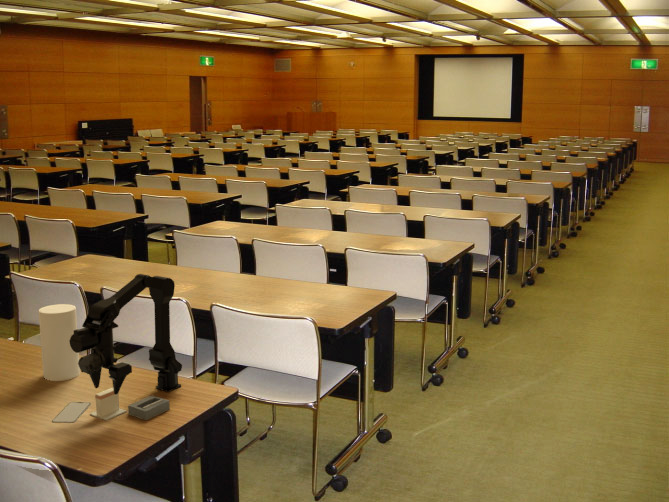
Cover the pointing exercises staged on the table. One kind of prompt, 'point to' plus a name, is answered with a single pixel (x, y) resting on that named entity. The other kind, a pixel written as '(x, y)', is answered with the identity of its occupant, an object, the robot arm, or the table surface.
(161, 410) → the dispenser
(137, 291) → the robot arm
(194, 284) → the table surface
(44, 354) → the cylinder
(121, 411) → the mat
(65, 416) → the smartphone
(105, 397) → the cream rectangular block
